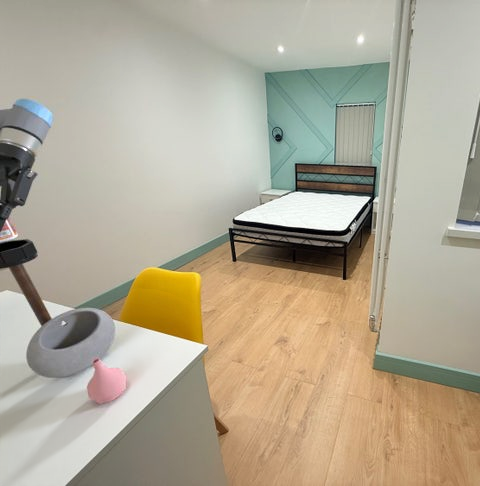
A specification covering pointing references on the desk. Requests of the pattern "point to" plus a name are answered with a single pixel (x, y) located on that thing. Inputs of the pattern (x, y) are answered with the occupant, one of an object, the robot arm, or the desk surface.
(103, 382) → the pink vase
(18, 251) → the holder
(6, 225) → the pill bottle
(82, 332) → the planter
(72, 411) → the desk surface
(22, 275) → the stand
